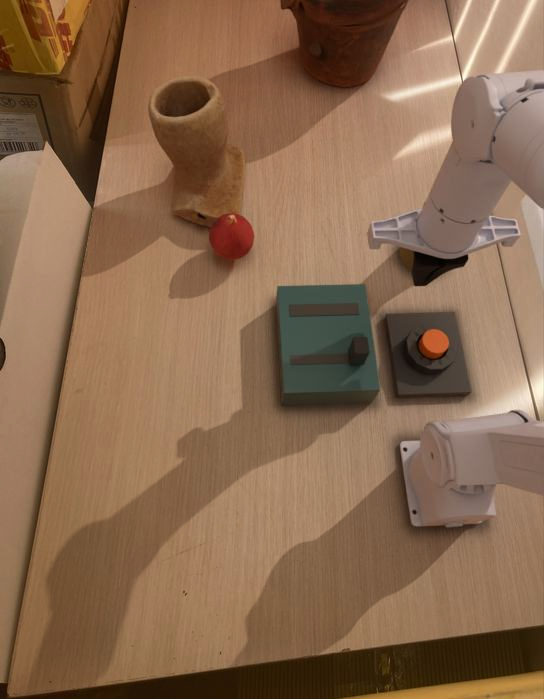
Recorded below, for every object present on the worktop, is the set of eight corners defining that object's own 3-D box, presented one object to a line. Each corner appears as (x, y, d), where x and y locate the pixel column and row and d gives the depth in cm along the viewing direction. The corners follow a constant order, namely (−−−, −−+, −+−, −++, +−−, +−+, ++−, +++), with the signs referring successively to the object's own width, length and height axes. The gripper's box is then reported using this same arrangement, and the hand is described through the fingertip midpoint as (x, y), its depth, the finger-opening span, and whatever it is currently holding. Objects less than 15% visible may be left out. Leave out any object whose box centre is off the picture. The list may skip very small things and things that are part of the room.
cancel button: (446, 358, 65) (451, 352, 63) (420, 359, 65) (424, 353, 63) (441, 334, 66) (446, 328, 65) (416, 335, 66) (420, 329, 65)
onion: (203, 260, 73) (197, 222, 65) (224, 229, 75) (221, 190, 67) (240, 277, 72) (239, 242, 64) (261, 246, 74) (262, 208, 67)
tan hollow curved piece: (171, 146, 81) (155, 55, 67) (250, 154, 81) (250, 64, 67) (152, 228, 74) (130, 146, 61) (238, 236, 74) (235, 156, 61)
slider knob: (363, 365, 62) (369, 353, 59) (349, 365, 62) (355, 353, 59) (361, 349, 63) (367, 336, 60) (348, 349, 63) (353, 336, 59)
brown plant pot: (278, 21, 93) (284, -100, 77) (393, 28, 94) (423, -91, 77) (274, 95, 86) (280, -22, 69) (399, 102, 86) (433, -12, 70)
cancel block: (468, 395, 66) (477, 387, 63) (395, 398, 65) (402, 389, 63) (451, 316, 70) (459, 305, 68) (383, 317, 70) (389, 306, 67)
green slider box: (372, 402, 65) (380, 389, 61) (281, 405, 64) (283, 392, 60) (358, 301, 71) (365, 283, 67) (275, 303, 70) (277, 285, 66)
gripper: (530, 162, 50) (474, 247, 62) (376, 164, 49) (351, 250, 62) (550, 224, 47) (487, 300, 59) (386, 227, 46) (358, 303, 59)
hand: (418, 278), depth 60 cm, fingers closed
